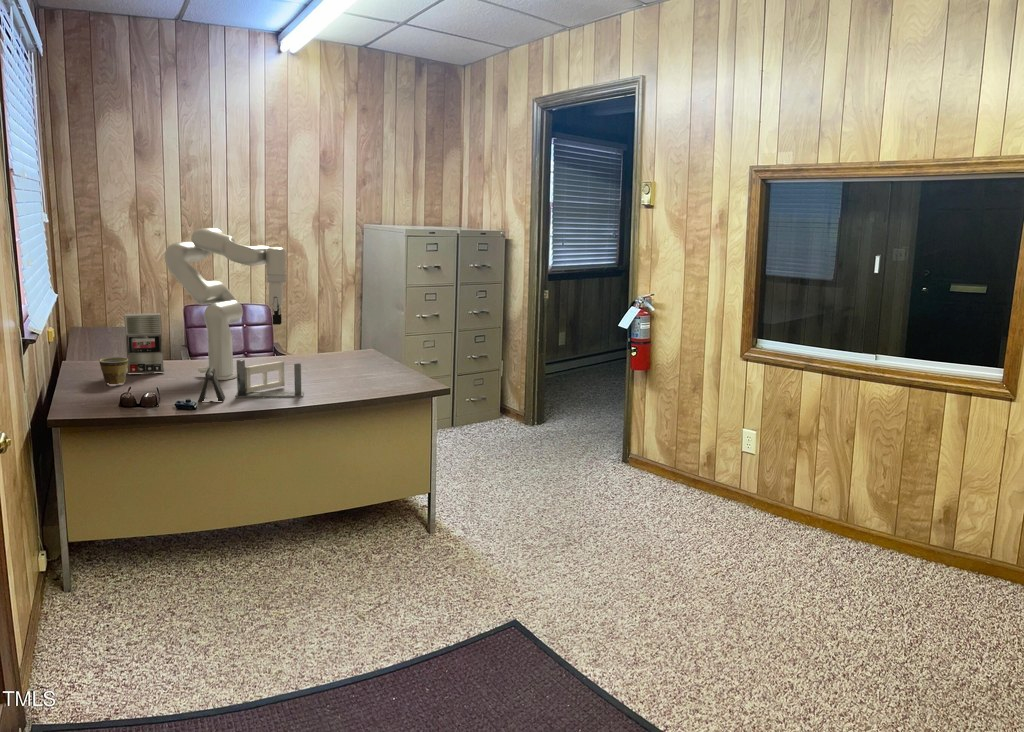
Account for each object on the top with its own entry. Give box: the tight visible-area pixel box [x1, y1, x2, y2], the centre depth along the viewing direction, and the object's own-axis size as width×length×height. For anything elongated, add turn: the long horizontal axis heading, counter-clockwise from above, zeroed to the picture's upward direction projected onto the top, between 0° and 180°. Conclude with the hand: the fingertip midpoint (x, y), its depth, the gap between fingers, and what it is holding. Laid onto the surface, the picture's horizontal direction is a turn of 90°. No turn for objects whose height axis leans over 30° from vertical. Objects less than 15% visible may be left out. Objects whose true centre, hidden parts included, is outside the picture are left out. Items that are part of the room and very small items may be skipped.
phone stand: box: [197, 368, 226, 403], centre depth 287 cm, size 9×6×12 cm, turn 105°
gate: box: [245, 360, 286, 393], centre depth 303 cm, size 17×2×10 cm, turn 142°
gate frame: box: [234, 359, 305, 399], centre depth 296 cm, size 25×6×14 cm, turn 102°
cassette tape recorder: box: [123, 312, 165, 374], centre depth 320 cm, size 14×6×25 cm, turn 114°
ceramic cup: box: [99, 356, 128, 384], centre depth 303 cm, size 13×10×10 cm
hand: (277, 323), depth 311 cm, fingers closed
